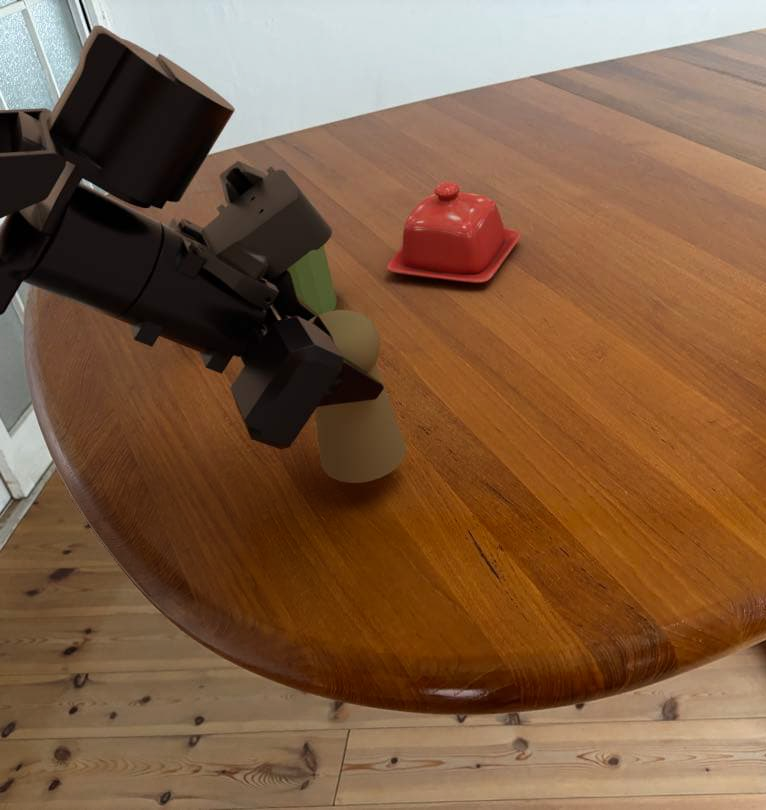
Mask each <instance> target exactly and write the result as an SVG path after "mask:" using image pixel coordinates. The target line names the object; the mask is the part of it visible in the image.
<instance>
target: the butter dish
mask: <svg viewBox="0 0 766 810" xmlns="http://www.w3.org/2000/svg"><path fill="white" fill-rule="evenodd" d="M433 192H434V193H432V194H430V195H428V196H426V197H424V199H422V200H421V201H420V202H419V203H418V204H416V205H415V207H413V209H412V211H411V212H410V213H409V215H408V217H407V218H406V220H405V223H404V225H403V234H402V246H401V248H400V249H399V250H398V251H397V252H396V253H395V254H394V255H393V257H392V258H391V259H390V260H389V262H388V263H387V266H386V271H387V272H390V273H393V274H398V275H407V276H414V277H422V278H429V279H436V280H437V279H438V280H446V281H453V282H462V283H463V282H464V283H472V284H473V283H474V284H482V283H486V282H488V281H489V280H491V279H492V277H494V275H495V274H496V273H497V271H498V269H499V268H500V267H501V265H502V264H503V262H504V261H505V260H506V259H507V257H508V256H509V255H510V253H511V251H512V250H513V249H514V248H515V246H516V245H517V244H518V242H519V241H520V239H521V237H522V233H521V232H520V231H517V230H515V229H510V228H506V227H504V223H503V220H502V216H501V213H500V211H499V208H498V206H497V203H496V202H495V201H494V200H493V199H491V198H490V197H486V196H485V195H481V194H476V193H472V192H465V191H460V186H459V185H458V183H456V182H453V181H445V182H441V183H439V184H438V185H436V186H435V188H434V190H433Z"/></svg>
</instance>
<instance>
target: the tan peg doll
mask: <svg viewBox="0 0 766 810" xmlns="http://www.w3.org/2000/svg"><path fill="white" fill-rule="evenodd" d="M318 316H319V317H320V318H321V320H322V321H323V323H324V324H325V326H326V327H327V329H328V330H329V332H330V333H331V335H332V337H333V340H334V344H335V345H336V347H337V348H338V350H339V351H340V353H341V354H342V356H343V357H345V358H346V359H348V360H349V361H351V362H352V363H354V364H355V365H357V366H358V367H360V368H361V369H363V370H364V371H366V372H367V373H368V374H370V375H371V376H373V377H374V378H375V379H377V380H378V381H379V382H381V383H382V384H383V386H384V389H383V391H382V392H381V394H380V395H379V396H378V398H377V399H375V400H368V401H360V402H352V403H343V404H335V405H328V406H320V407H317V408H316V409H315V417H316V418H315V419H316V428H317V438H318V448H319V449H318V450H319V458H320V464H321V467H322V470H323V471H324V473H325V474H327V475H328V476H329V478H331V479H334V480H336V481H338V482H341V483H349V484H350V483H351V484H359V483H368V482H371V481H375V480H379V479H381V478H383V477H385V476H387V475H388V474H390V473H392V472H394V470H396V469H397V468H398V467H399V466H400V465H401V464H402V462H403V460H404V458H405V457H406V455H407V444H406V442H405V441H406V440H405V438H404V436H403V433H402V430H401V427H400V425H399V422H398V420H397V417H396V414H395V411H394V409H393V406H392V404H391V401H390V398H389V394H388V392H387V390H386V387H385V384H384V381H383V379H382V376H381V373H380V370H379V368H378V365H377V363H376V362H377V361H378V359H379V356H380V348H381V347H380V345H381V340H380V335H379V332H378V330H377V329H376V327H375V325H374V322H373V321H372V320H370V319H369V318H368V316H366V315H365V314H363V313H361V312H359V311H356V310H347V309H338V310H337V309H336V310H335V309H334V310H333V311H329V312H325V313H322V314H320V315H318ZM315 318H316V316H315V317H313V318H312V319H310V320H309V322H311V323H312V322H313V321H314V319H315Z"/></svg>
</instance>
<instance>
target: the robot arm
mask: <svg viewBox="0 0 766 810" xmlns="http://www.w3.org/2000/svg"><path fill="white" fill-rule="evenodd" d="M235 112H236V108H235V107H234V106H233V105H232V104H231V103H230V102H229V101H228V100H226V99H225V98H224V97H223V96H222V95H220V93H218V92H217V91H215V90H214V89H213V88H211V87H210V86H208V85H207V84H206V83H205V82H203V81H202V80H200V79H199V78H197V76H195V75H194V74H192V73H190V72H189V71H187V70H186V69H184V68H183V67H181V65H179V64H177V63H175V61H173V60H171V59H169V58H168V57H166V56H165V55H163V54H161V53H158V55H155V54H154V53H152V52H150V51H148V50H147V49H145V48H143V47H142V46H140V45H138V44H136V43H135V42H132V41H130V40H127V39H125V38H122V37H120V36H119V35H117V34H115V33H114V32H112V31H111V30H109V29H108V28H107V27H104V26H103V25H101V24H100V25H94V26H93V27H92V29H91V31H90V33H89V35H88V37H87V38H86V40H85V42H84V43H83V45H82V48H81V52H80V56H79V61H78V64H77V66H76V68H75V70H74V72H73V74H72V75H71V77H70V79H69V81H68V82H67V84H66V85H65V88H64V89H63V91H62V92H61V94H60V96H59V98H58V100H57V101H56V103H55V105H54V107H53V109H52V110H51V109H49V108H46V107H41V108H40V107H39V108H19V109H18V108H17V109H15V108H14V109H0V219H4V220H3V221H2V224H1V225H0V316H2V315H4V313H5V312H6V311H7V309H8V308H9V306H10V304H11V302H12V300H13V299H14V297H15V295H17V292H18V290H19V289H20V287H21V285H22V283H25V284H27V285H30V286H33V287H36V288H38V289H41V290H43V291H45V292H48V293H51V294H53V295H55V296H58V297H60V298H63V299H66V300H68V301H70V302H72V303H75V304H77V305H80V306H83V307H85V308H88V309H91V310H93V311H96V312H98V313H100V314H103V315H105V316H108V317H110V318H113V319H115V320H117V321H121V322H123V323H125V324H128V325H129V329H130V333H131V335H132V338H133V340H134V341H136V342H138V343H141V344H144V345H147V346H148V347H151V348H152V347H153V346H154V345H155V343H156V341H157V340H158V338H159V337H161V338H163V339H165V340H167V341H171V342H172V343H175V344H178V345H181V346H182V347H186V348H188V349H190V350H193V351H195V352H198V353H199V356H200V358H201V360H202V362H203V365H204V368H206V369H209V370H211V371H214V372H215V373H219V374H223V373H224V371H225V370H226V368H227V367H228V365H229V364H230V362H231V361H232V359H233V357H237V358H240V360H241V363H242V365H243V368H242V369H241V371H240V372H239V374H238V375H237V376H236V378H235V380H234V381H233V383H232V384H231V386H230V391H231V394H232V396H233V400H234V402H235V405H236V408H237V410H238V413H239V415H240V418H241V419H242V422H243V424H244V427H245V429H246V431H247V434H248V436H249V438H250V441H251V440H252V441H255V442H258V443H260V444H264V445H267V446H269V447H273V448H275V449H279V450H284V449H288V448H290V447H291V446H292V445H293V443H294V442H295V440H296V439H297V437H298V436H299V434H300V433H301V432H302V430H303V429H304V427H305V426H306V424H307V423H308V421H309V419H310V418H311V417H312V415H313V414H314V412H316V408H317V407H320V406H328V405H335V404H343V403H352V402H360V401H368V400H375V399H377V398H378V396H379V395H380V394H381V392H382V391H383V389H384V387H385V385H384V386H383V384H384V383H383V384H382V383H381V382H379V381H378V380H377V379H375V378H374V377H373V376H371V375H370V374H368V373H367V372H366V371H364V370H363V369H361V368H360V367H358V366H357V365H355V364H354V363H352V362H351V361H349V360H348V359H346V358H345V357H343V356H342V354H341V353H340V351H339V350H338V348H337V347H336V345H335V344H334V340H333V337H332V335H331V333H330V332H329V330H328V329H327V327H326V326H325V324H324V323H323V321H322V320H321V318H320V317H319V316H318V314H317V313H316V312H315V311H313V310H312V309H311V308H310V307H309V306H308V305H306V304H305V303H304V302H303V301H302V300H301V299H299V298H298V297H297V295H296V292H295V288H294V285H293V281H292V277H291V274H290V272H289V271H288V268H289V267H291V266H292V265H293V264H295V263H296V262H297V261H298V260H300V259H301V258H302V257H304V256H305V255H306V254H307V253H309V252H310V251H311V250H318V249H319V248H320V247H322V246H323V245H324V246H325V244H327V243H328V242H329V240H330V239H331V237H332V234H333V228H332V227H331V226H330V225H329V223H328V222H327V221H326V219H325V218H324V217H323V216H322V214H321V213H320V212H319V211H318V209H317V208H316V207H315V205H314V206H313V205H312V204H311V202H312V201H311V200H309V198H308V196H306V195H305V194H304V192H303V191H302V190H301V188H300V187H299V185H297V184H296V183H295V181H294V180H293V179H292V178H291V176H289V174H288V173H287V171H285V170H284V169H277V170H275V168H274V167H273V166H270V167H268V168H267V169H266V172H267V174H266V173H265V171H262V170H260V169H258V168H255V167H253V166H251V165H249V164H246V163H245V162H242V161H240V160H238V161H236V162H234V163H233V164H231V165H230V166H229V167H228V168H226V169H225V170H224V171H222V172H221V173H220V174H219V176H218V177H219V180H220V184H221V188H222V192H223V195H224V200H225V202H226V204H227V205H226V206H225V205H224V204H220V205H218V207H216V210H217V212H218V215H217V216H215V217H214V219H212V220H211V221H210V222H209V223H208V224H207V225H205V226H201V225H199V224H196V223H195V222H193V221H190V220H189V219H187V218H181V219H180V220H177V219H175V218H172V219H171V221H170V222H169V224H168V225H166V224H165V223H162V222H161V221H158V220H157V219H155V218H153V217H151V216H148V215H147V214H144V213H143V212H141V211H139V210H137V209H135V208H132V207H130V206H129V205H132V206H135V207H137V208H141V209H150V208H151V207H153V208H156V209H159V210H163V208H164V207H165V206H166V203H167V202H170V203H178V202H180V201H181V200H182V198H183V196H184V194H185V193H186V191H187V190H188V188H189V186H190V185H191V184H192V181H193V180H194V178H195V176H196V175H197V173H198V172H199V170H200V168H201V167H202V165H203V163H204V162H205V160H206V158H207V157H208V156H209V154H210V152H211V150H212V148H213V147H214V146H215V144H216V142H217V140H218V139H219V137H220V136H221V134H222V132H223V131H224V130H225V127H226V126H227V124H228V122H229V121H230V120H231V118H232V116H233V114H234V113H235ZM82 180H84V181H86V182H88V183H90V184H92V185H94V186H96V187H97V188H99V189H101V190H102V191H104V192H106V193H108V194H110V195H111V196H113V197H115V198H117V199H118V200H116V199H115V198H113V197H111V196H108V195H107V194H105V193H103V192H100V191H99V190H96V189H94V188H92V187H91V186H88V185H86V184H85V183H83V182H82ZM119 200H120V201H119ZM121 201H122V202H121ZM310 201H311V202H310ZM123 202H125V203H127V204H129V205H127V204H125V203H123ZM315 316H316V318H315V319H314V321H313V322H312V323H311V322H309V320H310V319H312V318H313V317H315Z"/></svg>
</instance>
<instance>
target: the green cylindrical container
mask: <svg viewBox="0 0 766 810" xmlns="http://www.w3.org/2000/svg"><path fill="white" fill-rule="evenodd" d="M309 201H310V202H311V204H312V205H313V206H314V207H315V204H314V202H312V201H311V200H309ZM288 271H289V272H290V274H291V277H292V281H293V285H294V288H295V292H296V295H297V297H298V298H299V299H301V300H302V301H303V302H304V303H305V304H306V305H308V306H309V307H310V308H311V309H312V310H313V311H315V312H316V313H317V314H318V315H320V314H322V313H325V312H329V311H335V308H336V306H337V303H338V301H337V296H336V291H335V287H334V283H333V279H332V274H331V271H330V267H329V262H328V258H327V254H326V249H325V244H324V245H323V246H322V247H320V248H319V249H318V250H311V251H310V252H309V253H307V254H306V255H305V256H304V257H302V258H301V259H300V260H298V261H297V262H296V263H295V264H293V265H292V266H291V267H289V268H288Z"/></svg>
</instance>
